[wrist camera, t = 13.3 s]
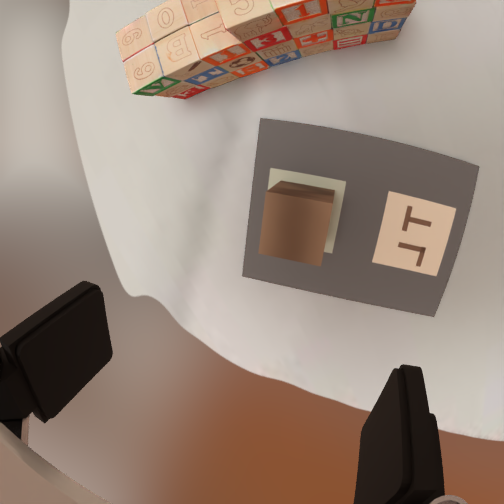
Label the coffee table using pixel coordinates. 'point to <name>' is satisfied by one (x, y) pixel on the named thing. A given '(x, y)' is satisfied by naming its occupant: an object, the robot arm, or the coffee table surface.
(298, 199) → the walnut block
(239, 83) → the coffee table surface
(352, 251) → the mat
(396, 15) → the stack of blocks
